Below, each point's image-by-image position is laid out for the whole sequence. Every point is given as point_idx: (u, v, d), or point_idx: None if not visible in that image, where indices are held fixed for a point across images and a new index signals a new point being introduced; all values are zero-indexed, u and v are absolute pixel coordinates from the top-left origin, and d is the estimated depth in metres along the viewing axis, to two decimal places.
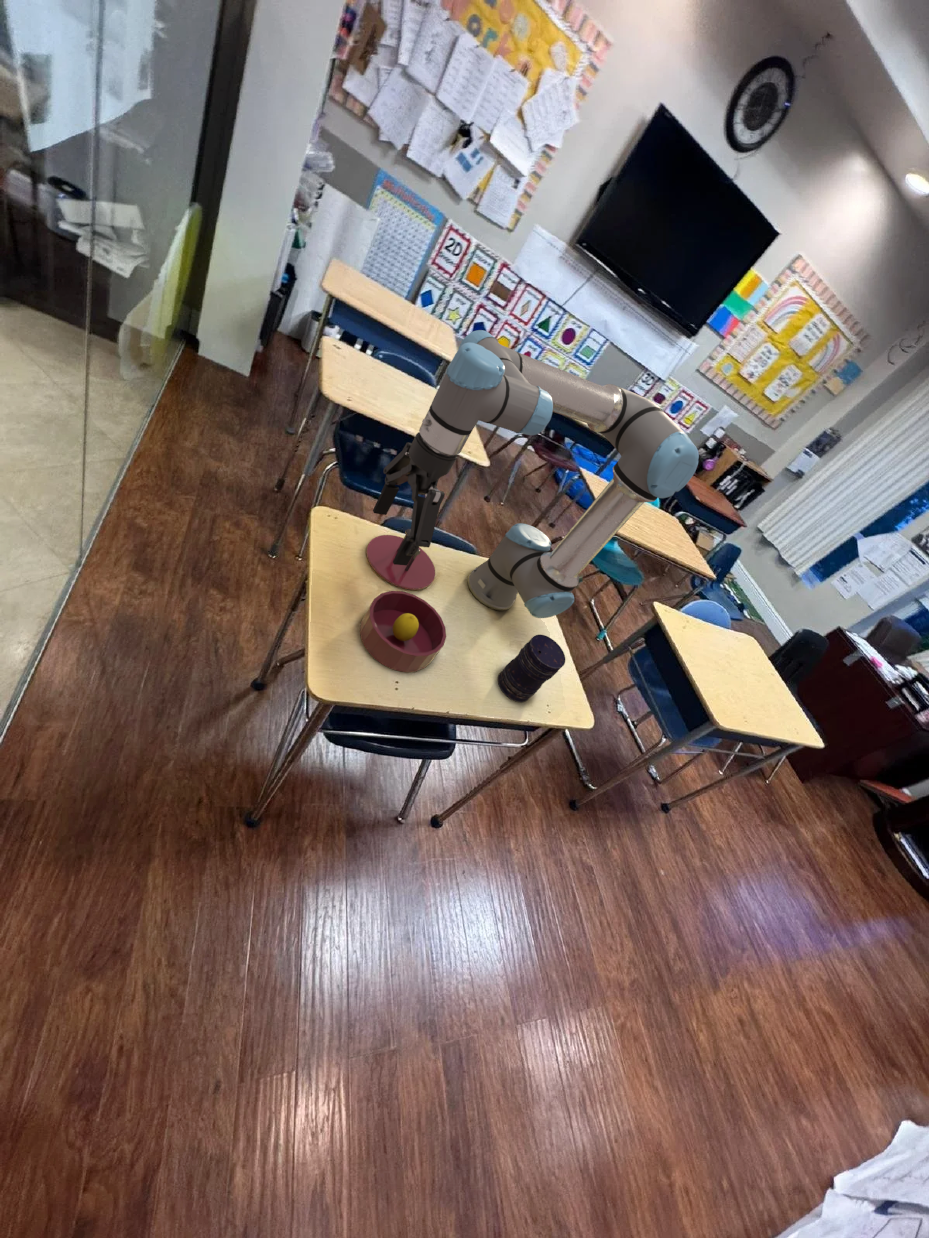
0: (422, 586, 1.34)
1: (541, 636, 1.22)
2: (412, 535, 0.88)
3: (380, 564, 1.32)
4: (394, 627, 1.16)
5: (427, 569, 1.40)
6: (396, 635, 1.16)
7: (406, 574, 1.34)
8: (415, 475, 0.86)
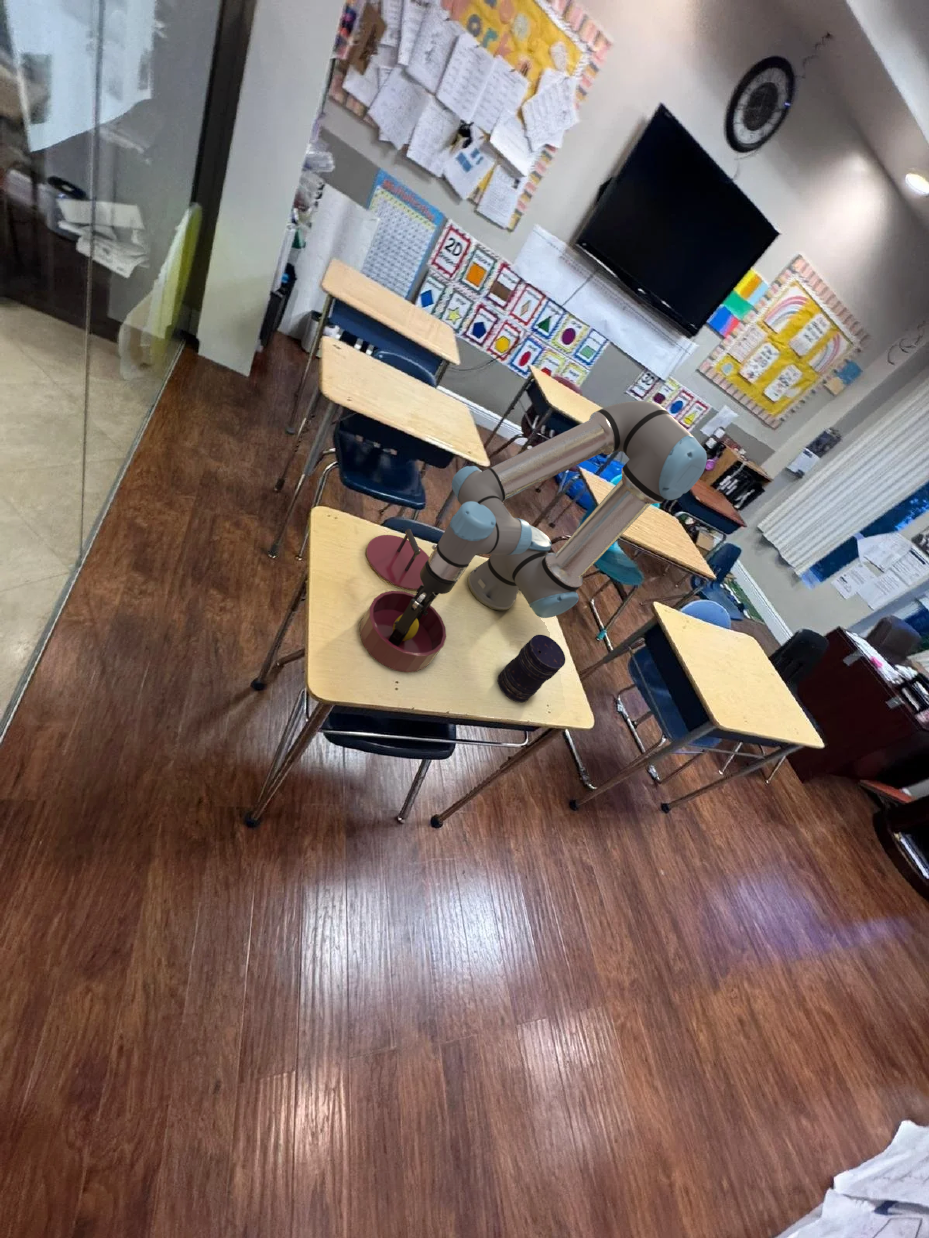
0: None
1: (541, 636, 1.22)
2: None
3: (380, 564, 1.32)
4: None
5: None
6: None
7: (406, 574, 1.34)
8: (421, 585, 1.08)
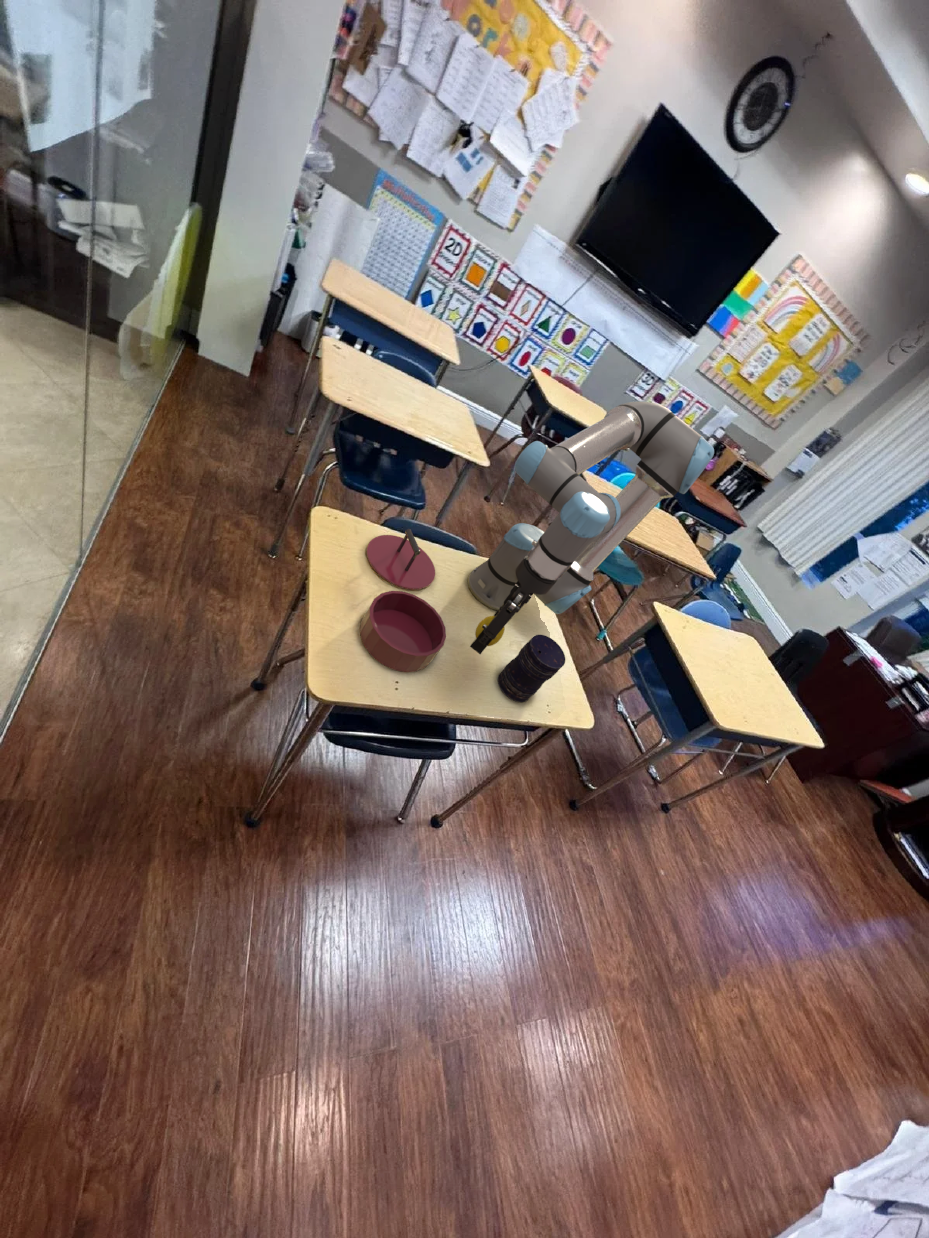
0: (422, 586, 1.34)
1: (541, 636, 1.22)
2: None
3: (380, 564, 1.32)
4: (478, 631, 1.06)
5: (427, 569, 1.40)
6: None
7: (406, 574, 1.34)
8: (514, 585, 0.98)
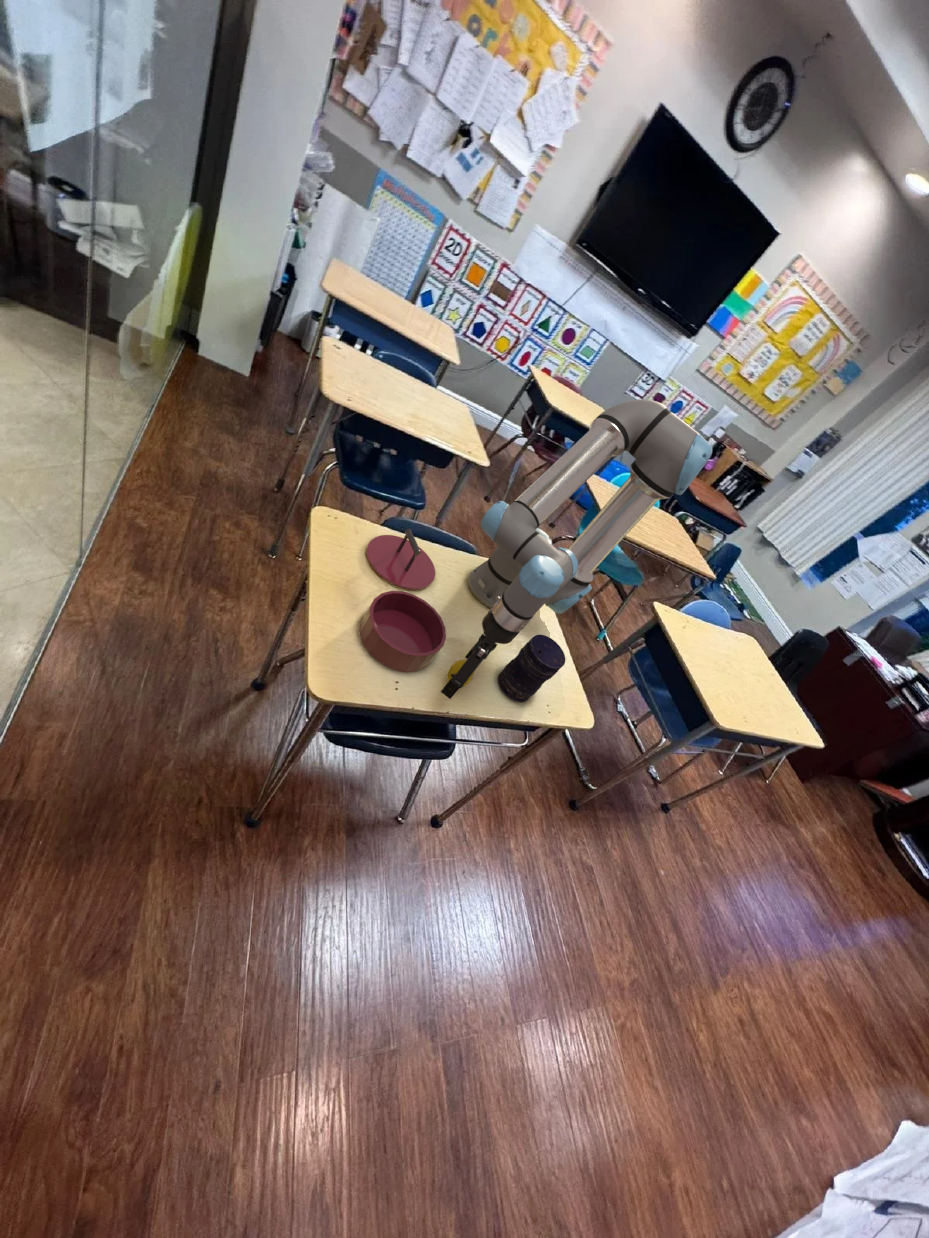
0: (422, 586, 1.34)
1: (541, 636, 1.22)
2: (456, 674, 1.07)
3: (380, 564, 1.32)
4: (449, 674, 1.15)
5: (427, 569, 1.40)
6: None
7: (406, 574, 1.34)
8: (482, 634, 1.07)
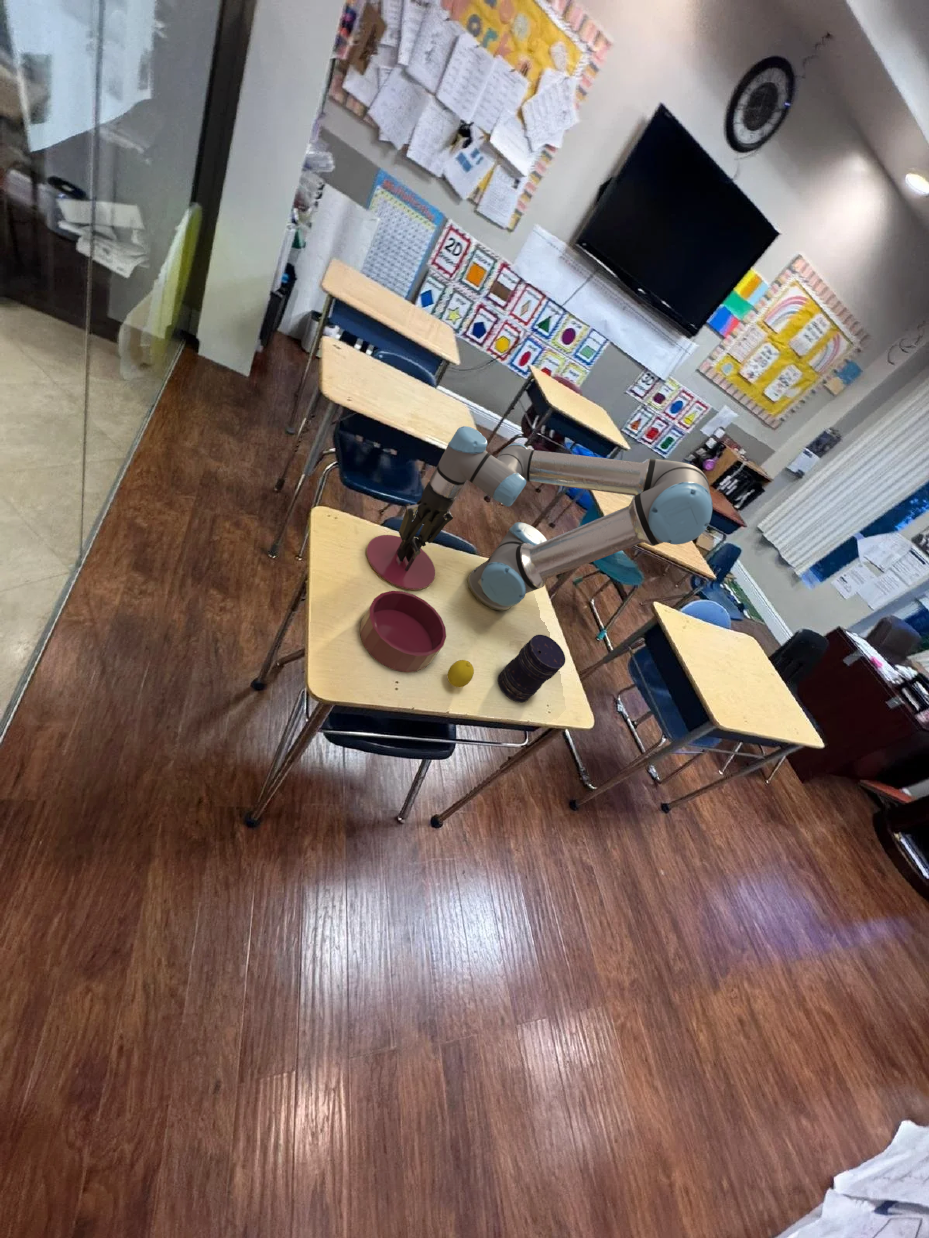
0: (422, 586, 1.34)
1: (541, 636, 1.22)
2: None
3: (380, 564, 1.32)
4: (449, 674, 1.15)
5: (427, 569, 1.40)
6: (452, 682, 1.15)
7: (406, 574, 1.34)
8: None
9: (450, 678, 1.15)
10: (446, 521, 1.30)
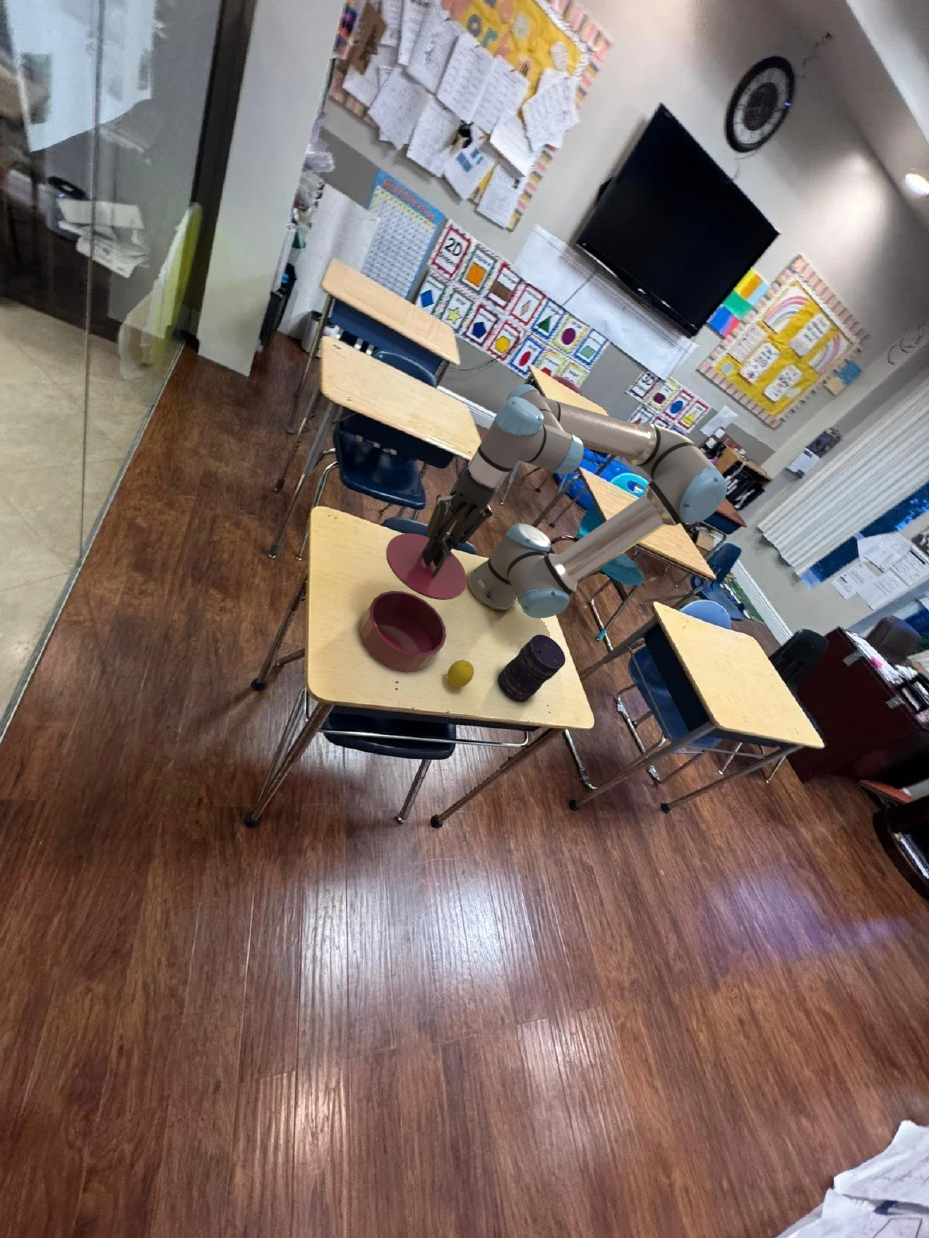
0: (452, 596, 1.11)
1: (541, 636, 1.22)
2: None
3: (403, 568, 1.09)
4: (449, 674, 1.15)
5: (458, 575, 1.17)
6: (452, 682, 1.15)
7: (433, 581, 1.11)
8: None
9: (450, 678, 1.15)
10: (484, 517, 1.06)
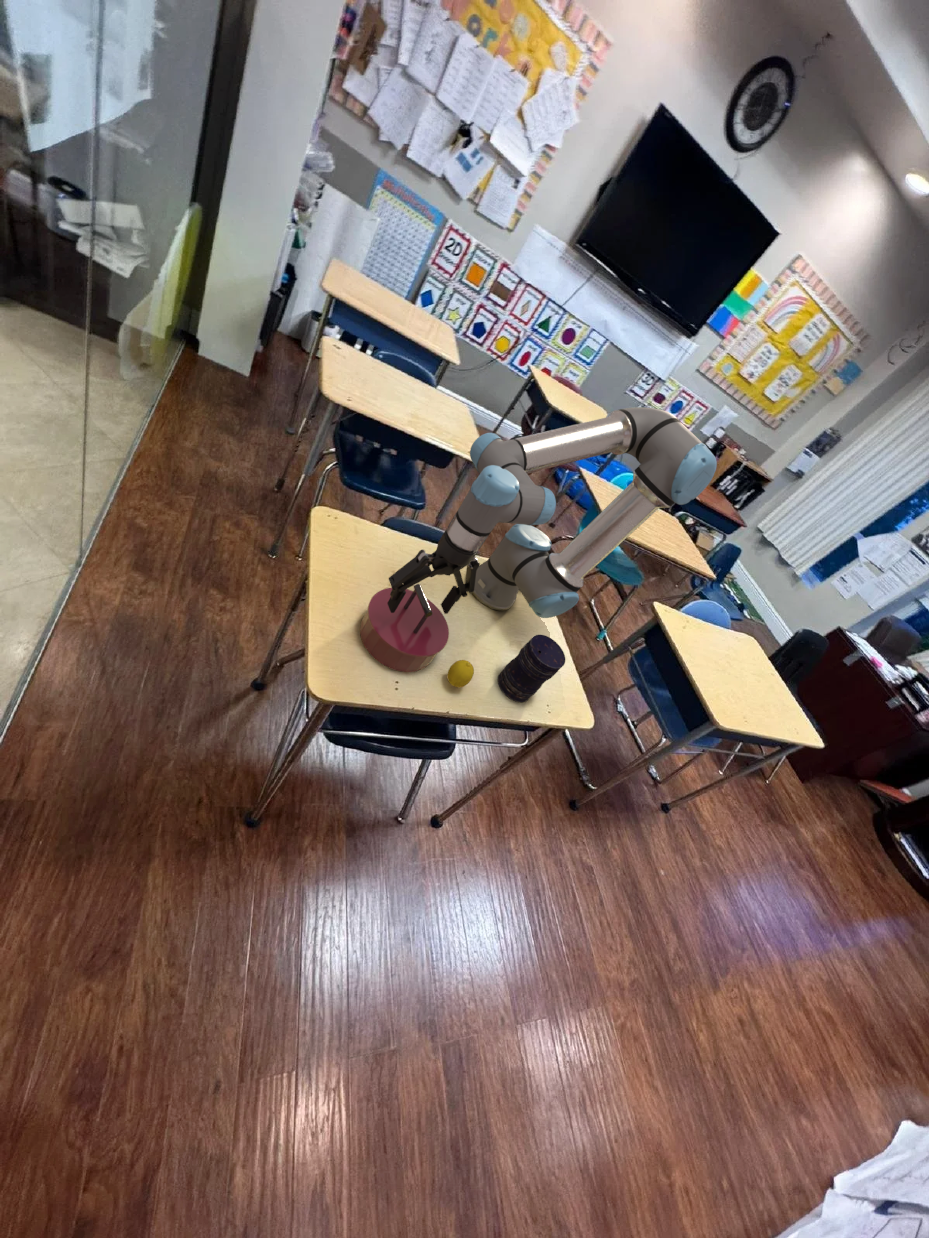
0: (434, 652, 1.13)
1: (541, 636, 1.22)
2: None
3: (384, 627, 1.10)
4: (449, 674, 1.15)
5: (439, 628, 1.19)
6: (452, 682, 1.15)
7: (415, 637, 1.13)
8: None
9: (450, 678, 1.15)
10: (474, 569, 1.07)
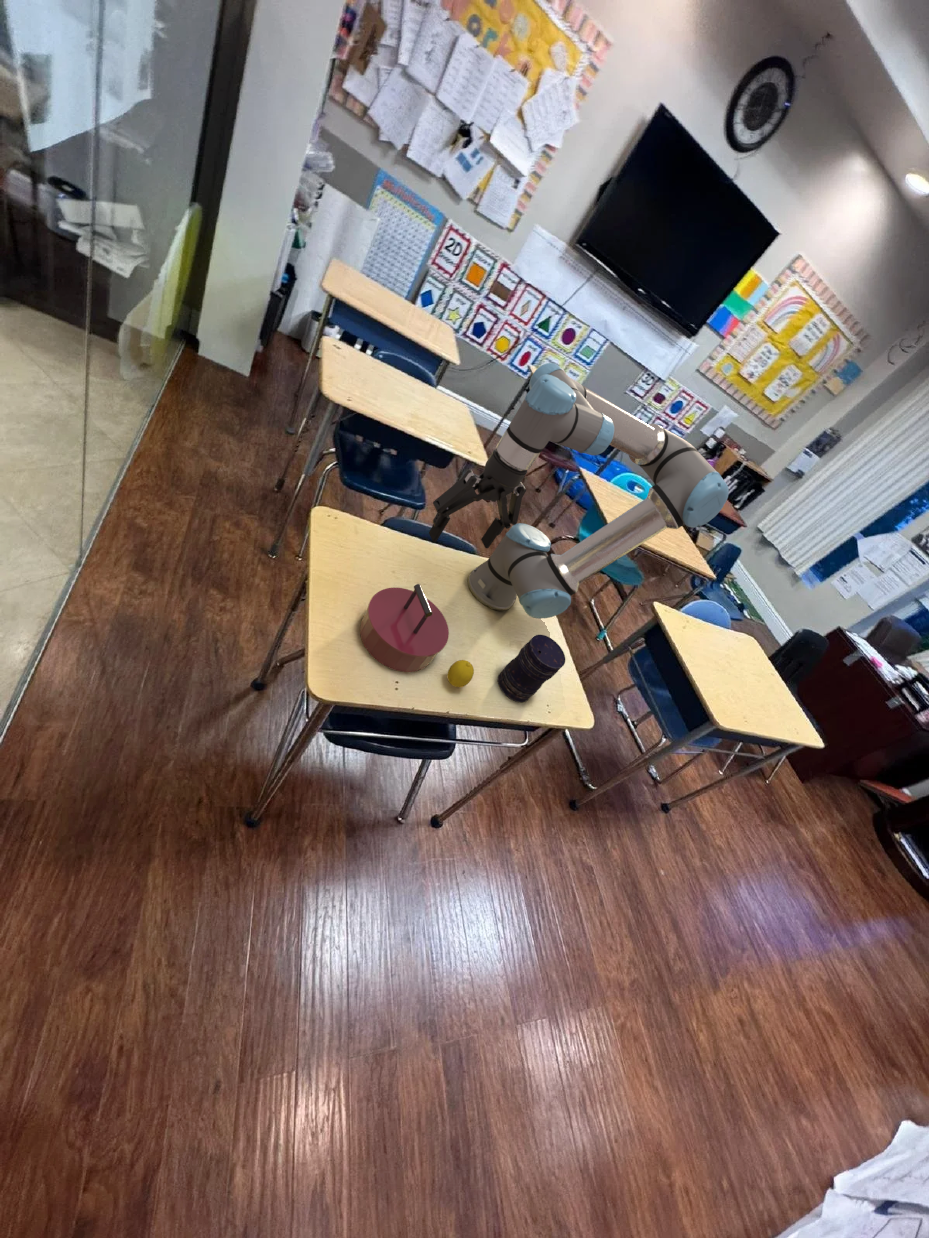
0: (434, 652, 1.13)
1: (541, 636, 1.22)
2: None
3: (384, 627, 1.10)
4: (449, 674, 1.15)
5: (439, 628, 1.19)
6: (452, 682, 1.15)
7: (415, 637, 1.13)
8: None
9: (450, 678, 1.15)
10: (520, 496, 1.03)
